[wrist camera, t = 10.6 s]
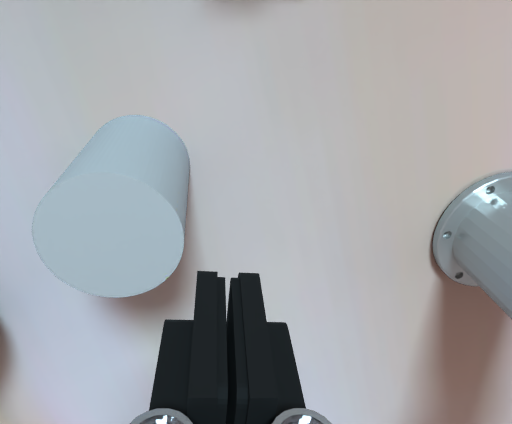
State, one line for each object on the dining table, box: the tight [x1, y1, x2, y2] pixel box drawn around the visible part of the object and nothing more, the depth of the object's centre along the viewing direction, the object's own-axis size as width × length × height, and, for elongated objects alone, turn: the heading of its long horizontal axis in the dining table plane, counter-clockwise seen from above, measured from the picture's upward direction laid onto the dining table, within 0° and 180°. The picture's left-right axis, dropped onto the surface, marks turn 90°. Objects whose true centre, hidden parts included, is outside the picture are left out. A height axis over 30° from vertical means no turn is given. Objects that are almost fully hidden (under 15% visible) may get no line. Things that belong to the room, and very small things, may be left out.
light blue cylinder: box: [32, 115, 190, 298], centre depth 28 cm, size 8×8×12 cm
